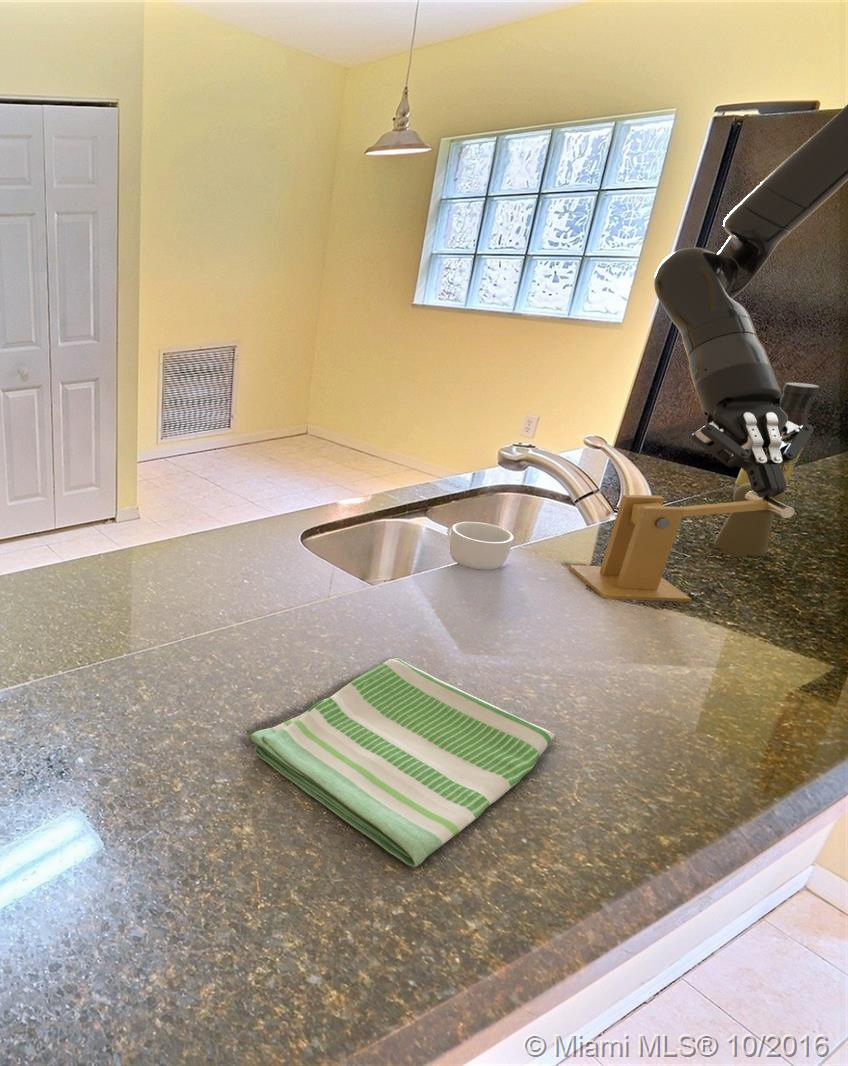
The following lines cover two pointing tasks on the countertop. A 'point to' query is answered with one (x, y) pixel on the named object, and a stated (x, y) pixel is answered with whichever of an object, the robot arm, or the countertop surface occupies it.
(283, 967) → the countertop surface
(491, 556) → the teacup
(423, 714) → the dish towel
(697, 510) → the tap lever
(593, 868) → the countertop surface
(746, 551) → the cork
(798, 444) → the robot arm
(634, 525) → the bracket
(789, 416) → the sauce bottle
